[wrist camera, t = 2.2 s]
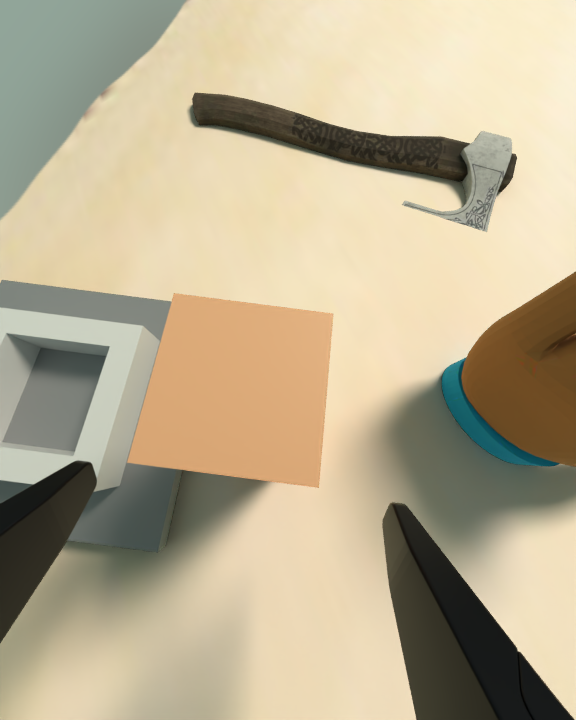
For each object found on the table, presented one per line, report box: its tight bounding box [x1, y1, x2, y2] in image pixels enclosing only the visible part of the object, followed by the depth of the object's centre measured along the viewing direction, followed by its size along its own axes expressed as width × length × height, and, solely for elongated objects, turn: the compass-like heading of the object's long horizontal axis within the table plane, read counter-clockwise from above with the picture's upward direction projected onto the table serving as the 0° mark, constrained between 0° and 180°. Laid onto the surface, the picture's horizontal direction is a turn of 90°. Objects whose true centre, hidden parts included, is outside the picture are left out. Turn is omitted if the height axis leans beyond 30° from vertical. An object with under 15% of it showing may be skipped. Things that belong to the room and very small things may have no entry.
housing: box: [0, 280, 182, 552], centre depth 17 cm, size 15×15×4 cm
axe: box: [192, 93, 517, 232], centre depth 26 cm, size 11×3×30 cm
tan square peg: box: [127, 293, 333, 488], centre depth 13 cm, size 4×4×13 cm
